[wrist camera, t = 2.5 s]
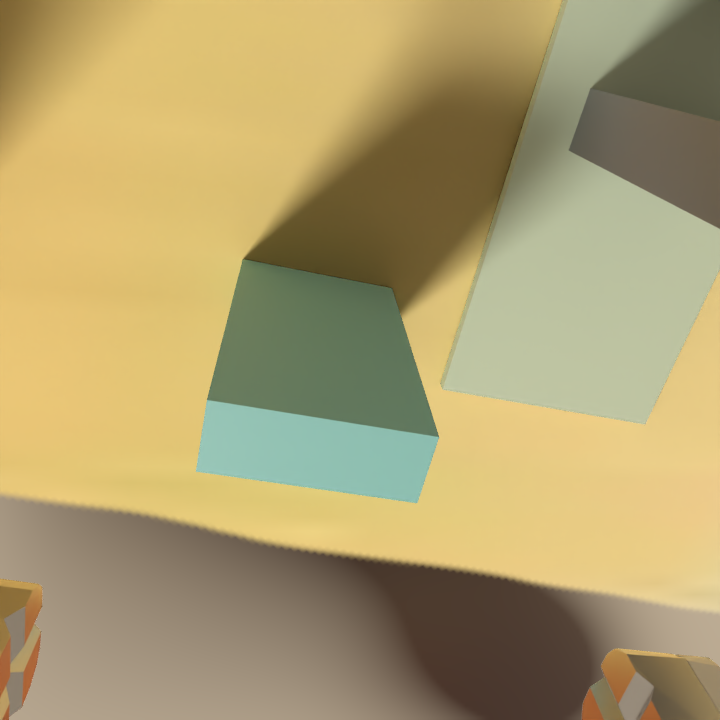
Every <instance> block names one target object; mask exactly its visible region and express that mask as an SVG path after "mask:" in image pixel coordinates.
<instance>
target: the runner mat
mask: <svg viewBox="0 0 720 720" xmlns="http://www.w3.org/2000/svg"><path fill="white" fill-rule="evenodd" d="M590 88H592V89H596V90H600V91H604V92H608V93H612V94H616V95H619V96H623V97H627V98H631V99H635V100H639V101H643V102H647V103H651V104H654V105H658V106H662V107H666V108H670V109H674V110H678V111H682V112H685V113H689V114H693V115H697V116H701V117H705V118H709V119H713V120H717V121H720V0H563V1H562V4H561V7H560V10H559V14H558V17H557V20H556V23H555V26H554V29H553V32H552V36H551V39H550V42H549V45H548V48H547V51H546V54H545V57H544V61H543V64H542V67H541V70H540V73H539V76H538V79H537V82H536V86H535V89H534V92H533V95H532V98H531V101H530V104H529V108H528V111H527V114H526V117H525V120H524V123H523V126H522V129H521V133H520V136H519V139H518V142H517V145H516V148H515V151H514V154H513V158H512V161H511V164H510V167H509V170H508V173H507V176H506V180H505V183H504V186H503V189H502V192H501V195H500V198H499V201H498V205H497V208H496V211H495V214H494V217H493V220H492V223H491V226H490V230H489V233H488V236H487V239H486V242H485V245H484V248H483V251H482V255H481V258H480V261H479V264H478V267H477V270H476V273H475V277H474V280H473V283H472V286H471V289H470V292H469V295H468V298H467V302H466V305H465V308H464V311H463V314H462V317H461V320H460V323H459V327H458V330H457V333H456V336H455V339H454V342H453V345H452V349H451V352H450V355H449V358H448V361H447V364H446V367H445V370H444V374H443V377H442V380H441V383H440V384H441V387H442V389H443V390H448V391H454V392H460V393H465V394H471V395H477V396H483V397H489V398H494V399H500V400H506V401H512V402H518V403H523V404H529V405H535V406H541V407H547V408H553V409H558V410H564V411H570V412H576V413H582V414H587V415H593V416H599V417H605V418H611V419H616V420H622V421H628V422H634V423H640V424H646V422H647V420H648V418H649V415H650V413H651V411H652V409H653V407H654V405H655V403H656V401H657V399H658V397H659V395H660V393H661V390H662V388H663V386H664V384H665V382H666V380H667V378H668V376H669V374H670V372H671V370H672V368H673V366H674V363H675V361H676V359H677V357H678V355H679V353H680V351H681V349H682V347H683V345H684V343H685V341H686V338H687V336H688V334H689V332H690V330H691V328H692V326H693V324H694V322H695V320H696V318H697V316H698V313H699V311H700V309H701V307H702V305H703V303H704V301H705V299H706V297H707V295H708V293H709V291H710V289H711V286H712V284H713V282H714V280H715V278H716V276H717V274H718V272H719V270H720V229H719V228H717V227H715V226H713V225H711V224H709V223H707V222H705V221H703V220H701V219H700V218H698V217H696V216H694V215H692V214H690V213H688V212H686V211H684V210H682V209H680V208H678V207H676V206H674V205H673V204H671V203H669V202H667V201H665V200H663V199H661V198H659V197H657V196H655V195H653V194H651V193H649V192H647V191H646V190H644V189H642V188H640V187H638V186H636V185H634V184H632V183H630V182H628V181H626V180H624V179H622V178H620V177H619V176H617V175H615V174H613V173H611V172H609V171H607V170H605V169H603V168H601V167H599V166H597V165H595V164H594V163H592V162H590V161H588V160H586V159H584V158H582V157H580V156H578V155H576V154H574V153H572V152H570V151H569V148H570V145H571V142H572V139H573V136H574V133H575V131H576V128H577V125H578V122H579V119H580V116H581V114H582V111H583V108H584V105H585V102H586V99H587V97H588V94H589V91H590Z"/></svg>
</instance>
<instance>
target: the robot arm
mask: <svg viewBox="0 0 720 720" xmlns="http://www.w3.org/2000/svg"><path fill="white" fill-rule="evenodd" d="M41 608H42V586H41V585H39V584H35V583H28V582H21V581H13V580H6V579H0V720H9V717H10V716H11V715H12V714H13V713H15V712H16V711H18V710H19V709H20V708H22V706H23V703H24V701H25V698H26V696H27V694H28V691H29V688H30V686H31V683H32V679H33V675H34V672H35V669H36V665H37V661H38V655H39V650H40V641H41V631H40V630H39V628H38V627H37V626H36V625H35V624H34V623H35V621H36V619H37V617H38V614H39V612H40V610H41ZM601 669H602V671H603V674H604V677H605V678H603V679H602V680H600V681H599V682H597V683H596V684H594V685H593V686H591V687H590V688H589V691H588V693H587V695H586V697H585V699H584V702H583V706H582V720H720V667H719V666H718V665H717V664H716V663H715V662H713V661H712V660H711V659H710V658H707V657H697V656H687V655H673V654H667V653H657V652H648V651H638V650H628V649H618V648H615V649H614V650H612V651H611V652H609V653H608V654H607V655H606V657H605V659H604V661H603V663H602V665H601Z"/></svg>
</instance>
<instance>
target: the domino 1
mask: <svg viewBox="0 0 720 720" xmlns="http://www.w3.org/2000/svg"><path fill="white" fill-rule="evenodd" d="M438 439H439V435H438V432H437V429H436V426H435V423H434V419H433V416H432V413H431V410H430V407H429V404H428V400H427V397H426V394H425V391H424V388H423V385H422V381H421V378H420V375H419V372H418V369H417V366H416V362H415V359H414V356H413V353H412V350H411V347H410V343H409V340H408V337H407V334H406V331H405V328H404V324H403V321H402V318H401V315H400V312H399V309H398V305H397V302H396V299H395V296H394V293H393V290H392V288H389V287H384V286H379V285H373V284H368V283H363V282H358V281H353V280H348V279H343V278H338V277H332V276H327V275H322V274H317V273H312V272H307V271H302V270H297V269H291V268H286V267H281V266H276V265H271V264H266V263H261V262H256V261H251V260H245V259H243V261H242V265H241V269H240V273H239V277H238V280H237V284H236V288H235V292H234V296H233V300H232V304H231V308H230V312H229V316H228V320H227V324H226V328H225V331H224V335H223V339H222V343H221V347H220V351H219V355H218V359H217V363H216V367H215V371H214V375H213V379H212V382H211V386H210V390H209V394H208V398H207V403H206V410H205V416H204V423H203V429H202V436H201V442H200V449H199V455H198V462H197V468H196V472H203V473H210V474H217V475H224V476H231V477H238V478H245V479H252V480H259V481H266V482H273V483H280V484H287V485H294V486H301V487H308V488H315V489H322V490H329V491H336V492H343V493H350V494H357V495H364V496H371V497H378V498H385V499H392V500H399V501H406V502H413V503H417V502H418V499H419V496H420V493H421V490H422V487H423V484H424V481H425V478H426V475H427V472H428V469H429V466H430V463H431V460H432V457H433V454H434V451H435V448H436V445H437V442H438Z"/></svg>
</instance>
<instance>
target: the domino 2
mask: <svg viewBox="0 0 720 720" xmlns="http://www.w3.org/2000/svg"><path fill="white" fill-rule="evenodd" d="M569 151H570V152H572V153H574V154H576V155H578V156H580V157H582V158H584V159H586V160H588V161H590V162H592V163H594V164H595V165H597V166H599V167H601V168H603V169H605V170H607V171H609V172H611V173H613V174H615V175H617V176H619V177H620V178H622V179H624V180H626V181H628V182H630V183H632V184H634V185H636V186H638V187H640V188H642V189H644V190H646V191H647V192H649V193H651V194H653V195H655V196H657V197H659V198H661V199H663V200H665V201H667V202H669V203H671V204H673V205H674V206H676V207H678V208H680V209H682V210H684V211H686V212H688V213H690V214H692V215H694V216H696V217H698V218H700V219H701V220H703V221H705V222H707V223H709V224H711V225H713V226H715V227H717V228H719V229H720V121H717V120H713V119H709V118H705V117H701V116H697V115H693V114H689V113H685V112H682V111H678V110H674V109H670V108H666V107H662V106H658V105H654V104H651V103H647V102H643V101H639V100H635V99H631V98H627V97H623V96H619V95H616V94H612V93H608V92H604V91H600V90H596V89H592V88H590V91H589V94H588V97H587V99H586V102H585V105H584V108H583V111H582V114H581V116H580V119H579V122H578V125H577V128H576V131H575V133H574V136H573V139H572V142H571V145H570V148H569Z"/></svg>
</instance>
